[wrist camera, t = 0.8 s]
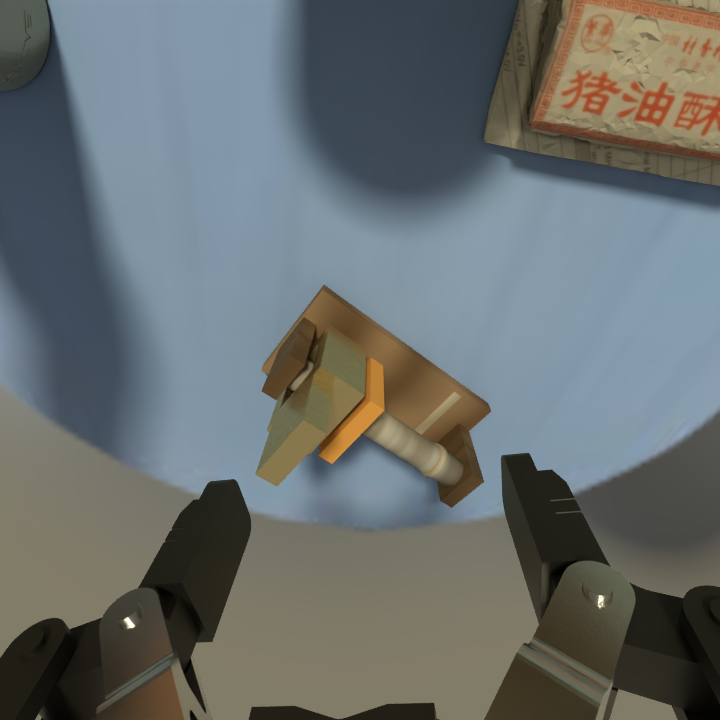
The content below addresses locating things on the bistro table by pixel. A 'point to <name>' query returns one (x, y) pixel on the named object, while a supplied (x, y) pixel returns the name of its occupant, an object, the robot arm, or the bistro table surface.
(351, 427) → the orange upright board
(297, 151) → the bistro table surface
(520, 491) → the robot arm
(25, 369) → the bistro table surface
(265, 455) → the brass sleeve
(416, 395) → the pipe board
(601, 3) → the packaged product
